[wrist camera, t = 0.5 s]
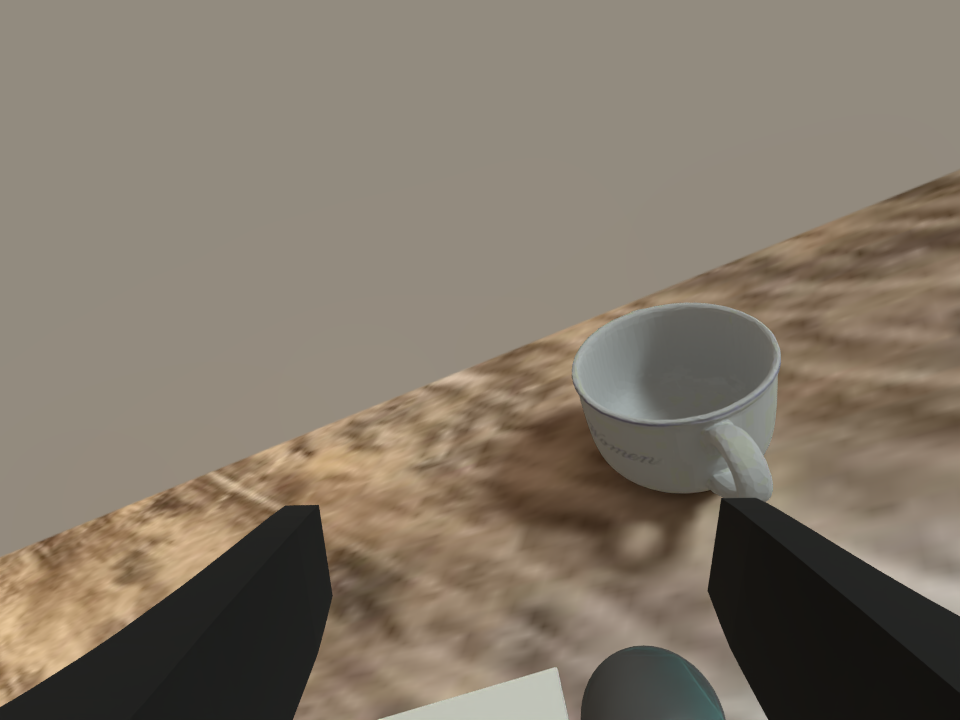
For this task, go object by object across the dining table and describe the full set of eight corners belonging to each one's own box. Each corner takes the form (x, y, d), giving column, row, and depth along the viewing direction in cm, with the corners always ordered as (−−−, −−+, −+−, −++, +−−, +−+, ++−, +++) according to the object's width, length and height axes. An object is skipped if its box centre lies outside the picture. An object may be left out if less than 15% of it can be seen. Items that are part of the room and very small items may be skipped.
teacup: (591, 409, 38) (563, 325, 34) (745, 372, 36) (735, 275, 31) (626, 587, 27) (590, 496, 23) (852, 553, 25) (862, 442, 20)
